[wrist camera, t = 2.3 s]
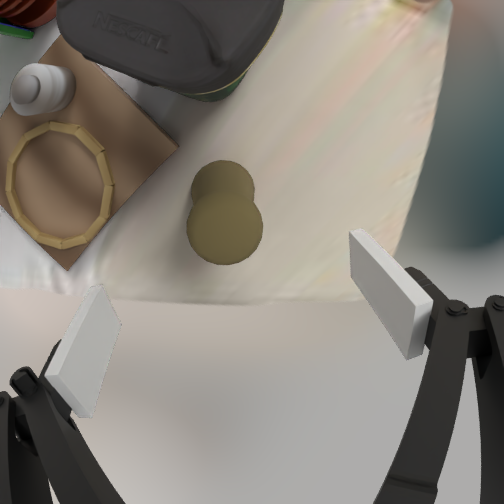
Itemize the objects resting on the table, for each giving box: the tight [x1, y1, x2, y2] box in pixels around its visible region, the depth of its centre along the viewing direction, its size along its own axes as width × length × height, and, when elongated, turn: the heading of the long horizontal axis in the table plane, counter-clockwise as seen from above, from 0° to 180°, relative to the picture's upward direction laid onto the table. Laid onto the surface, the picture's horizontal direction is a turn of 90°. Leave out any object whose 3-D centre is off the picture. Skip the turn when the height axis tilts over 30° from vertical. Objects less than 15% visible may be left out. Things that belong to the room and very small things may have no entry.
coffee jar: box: [56, 0, 284, 102], centre depth 15 cm, size 10×8×19 cm
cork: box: [187, 160, 263, 265], centre depth 25 cm, size 6×6×11 cm
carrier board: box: [0, 35, 179, 271], centre depth 23 cm, size 18×17×8 cm
